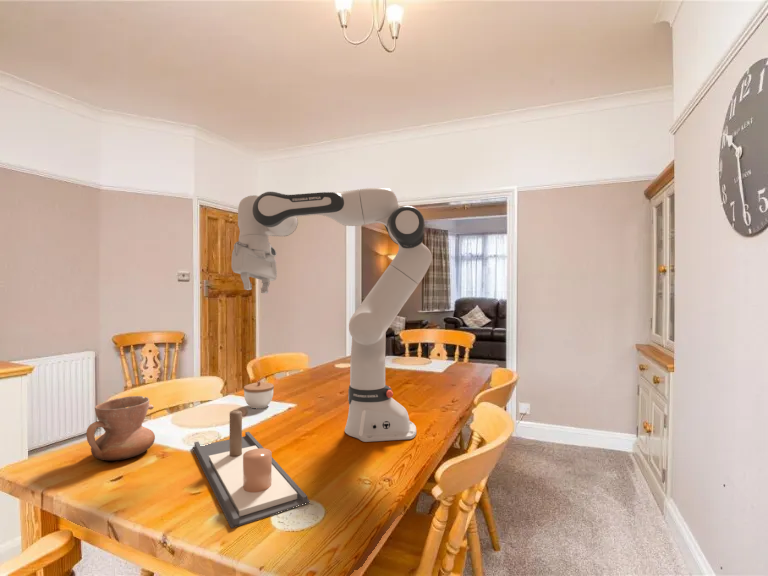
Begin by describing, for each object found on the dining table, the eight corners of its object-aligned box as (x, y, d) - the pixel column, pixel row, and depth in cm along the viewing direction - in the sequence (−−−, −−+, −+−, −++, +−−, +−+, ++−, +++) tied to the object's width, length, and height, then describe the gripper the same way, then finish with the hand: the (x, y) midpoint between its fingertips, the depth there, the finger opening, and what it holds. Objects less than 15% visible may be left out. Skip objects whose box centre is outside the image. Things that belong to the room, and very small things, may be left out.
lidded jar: (237, 408, 149) (237, 383, 148) (256, 400, 158) (256, 377, 158) (261, 412, 145) (261, 386, 144) (279, 404, 154) (279, 379, 154)
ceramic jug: (136, 438, 120) (134, 390, 120) (171, 445, 115) (169, 396, 114) (69, 464, 104) (66, 409, 103) (106, 475, 98) (104, 417, 98)
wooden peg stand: (208, 460, 105) (208, 413, 104) (255, 449, 111) (255, 405, 111) (239, 516, 80) (239, 455, 79) (297, 498, 86) (297, 442, 86)
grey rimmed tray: (192, 448, 113) (192, 442, 113) (250, 436, 122) (250, 431, 122) (231, 528, 77) (231, 520, 77) (309, 503, 86) (309, 495, 86)
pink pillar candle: (274, 478, 93) (274, 448, 92) (266, 492, 87) (266, 460, 86) (248, 478, 93) (248, 448, 93) (238, 492, 87) (238, 459, 87)
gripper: (244, 237, 115) (246, 285, 113) (279, 252, 135) (281, 293, 133) (224, 241, 117) (226, 288, 114) (262, 255, 136) (264, 296, 134)
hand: (256, 291), depth 124 cm, fingers open, 8 cm apart
